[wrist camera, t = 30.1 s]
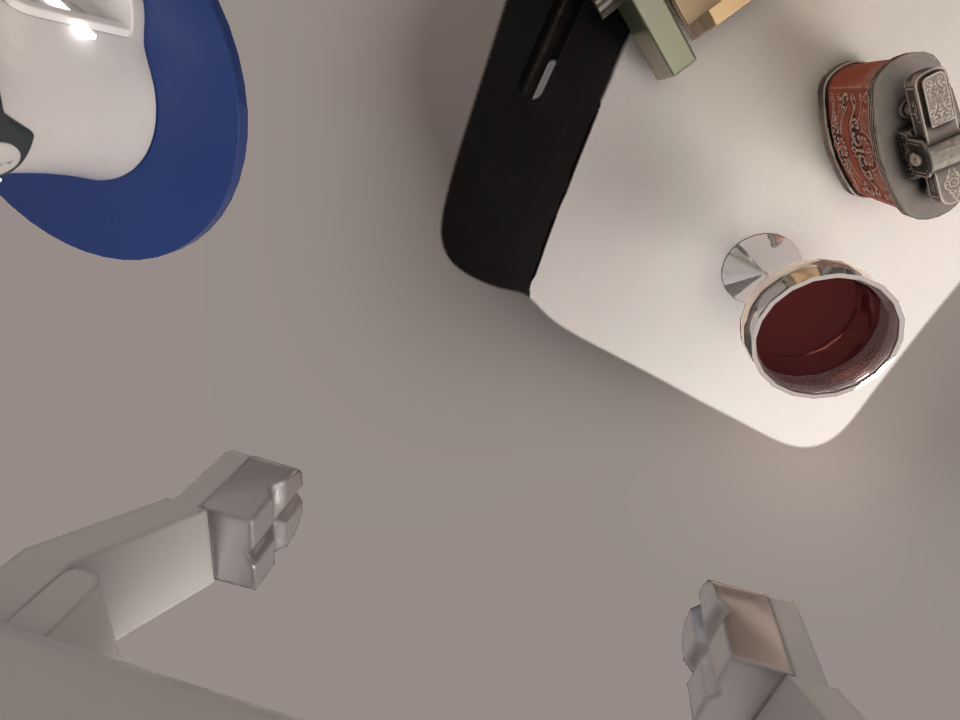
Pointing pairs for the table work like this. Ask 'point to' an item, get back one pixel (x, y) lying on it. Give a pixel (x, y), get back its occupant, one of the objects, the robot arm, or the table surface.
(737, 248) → the wineglass
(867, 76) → the lighter
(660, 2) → the drawer
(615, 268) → the table surface
